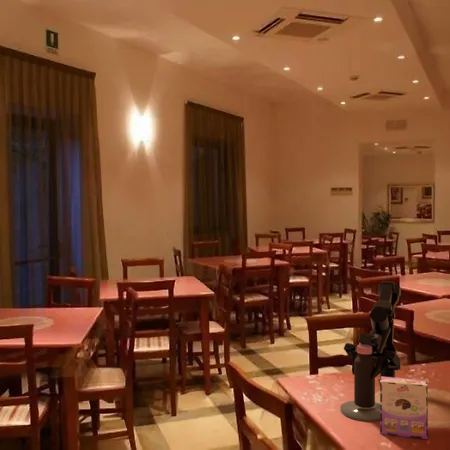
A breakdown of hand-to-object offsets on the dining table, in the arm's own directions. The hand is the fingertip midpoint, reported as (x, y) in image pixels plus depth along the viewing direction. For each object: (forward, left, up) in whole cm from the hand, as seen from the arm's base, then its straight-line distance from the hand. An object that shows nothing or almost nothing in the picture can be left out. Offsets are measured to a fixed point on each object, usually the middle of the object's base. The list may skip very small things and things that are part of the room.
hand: (362, 376), depth 180 cm
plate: (-1, +1, -12) cm, 13 cm away
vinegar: (-1, +1, -10) cm, 10 cm away
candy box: (+15, +11, -13) cm, 22 cm away
